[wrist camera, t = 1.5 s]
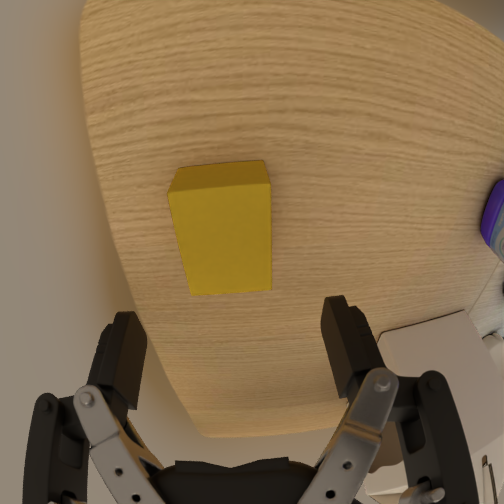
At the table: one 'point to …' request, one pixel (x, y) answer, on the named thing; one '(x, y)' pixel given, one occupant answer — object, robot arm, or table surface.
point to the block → (223, 226)
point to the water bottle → (496, 350)
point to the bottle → (495, 221)
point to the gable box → (464, 394)
